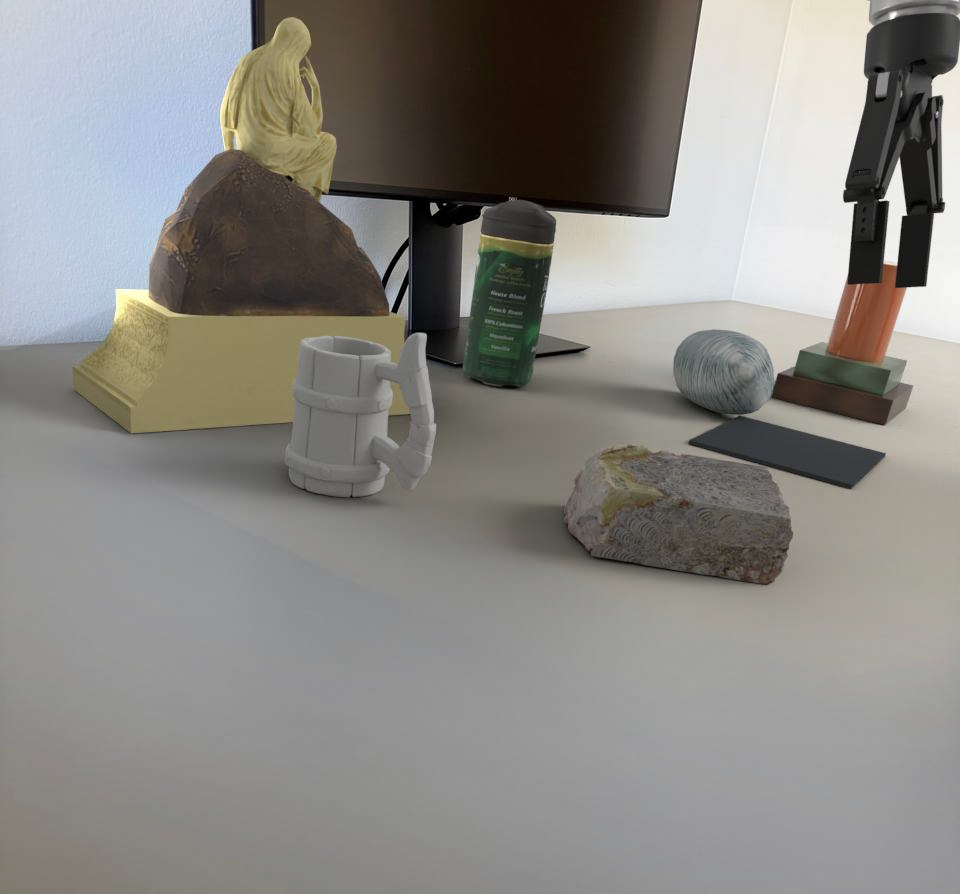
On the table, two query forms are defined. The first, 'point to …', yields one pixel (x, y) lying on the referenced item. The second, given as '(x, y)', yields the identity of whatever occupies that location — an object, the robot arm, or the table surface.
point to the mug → (358, 416)
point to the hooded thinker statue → (244, 270)
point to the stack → (845, 385)
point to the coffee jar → (509, 293)
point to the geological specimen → (681, 513)
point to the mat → (791, 450)
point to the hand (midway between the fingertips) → (888, 286)
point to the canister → (867, 318)
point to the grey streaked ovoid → (724, 371)
